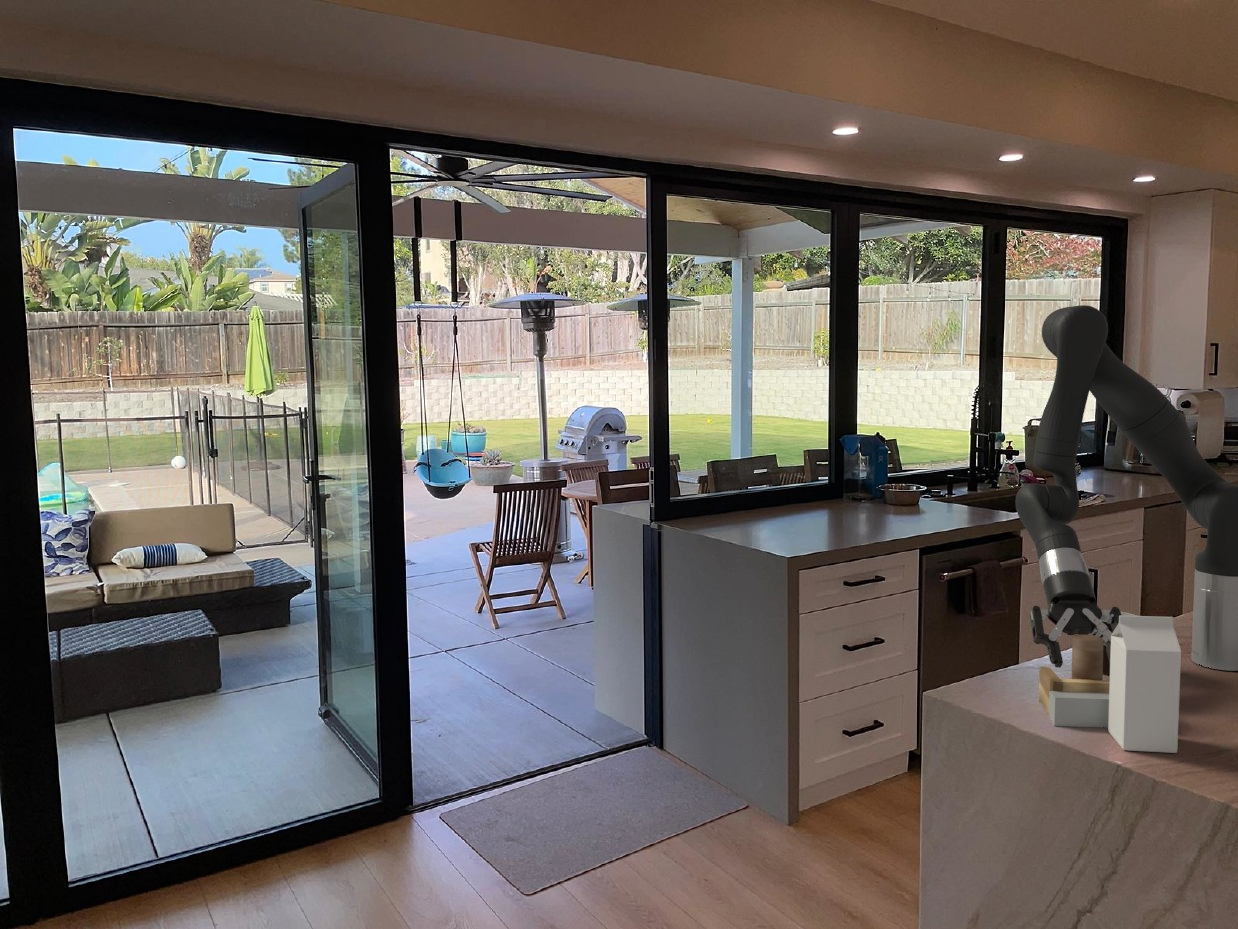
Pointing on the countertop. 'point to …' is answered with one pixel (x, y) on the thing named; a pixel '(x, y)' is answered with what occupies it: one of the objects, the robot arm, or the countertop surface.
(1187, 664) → the countertop surface
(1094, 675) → the brown wooden cylinder
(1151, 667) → the milk carton
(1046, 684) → the cradle
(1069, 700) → the stone ledge
